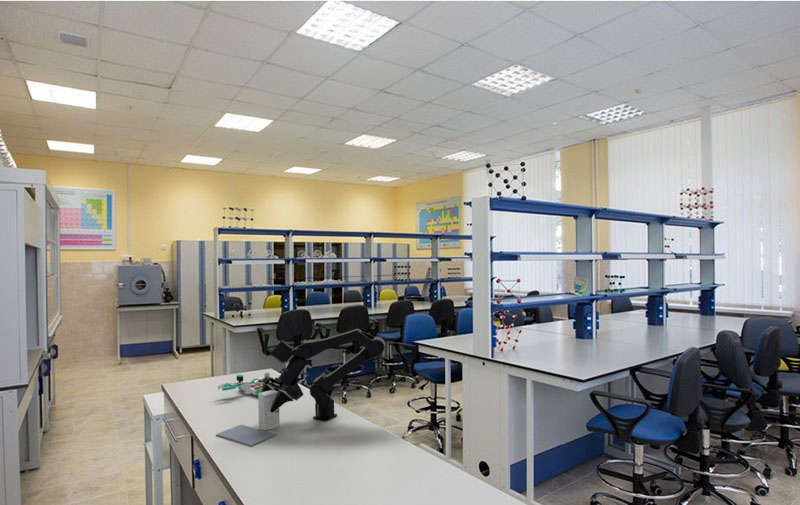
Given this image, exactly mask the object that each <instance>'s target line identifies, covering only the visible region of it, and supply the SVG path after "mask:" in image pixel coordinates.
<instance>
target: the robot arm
mask: <svg viewBox="0 0 800 505" xmlns="http://www.w3.org/2000/svg"><path fill="white" fill-rule="evenodd" d="M354 342H356V343H358V344H359V345H361V346H362V347H363V348H362V349H361V350H360V351H359V352H358V353H356V354H355V355H354V356H352V357H350V359H348V360H347V361H345V362H344V363H343V364H342V365H340V366H339V367H338V368H336V369H334V371H332V372H331V373H328V374H326V372H323V373H322V374H321V375H320V376H318V377H315V379H314V380H313V382H312V384H311V386H310V388H309V395H310V396H311V397H312V399H314V401H315V405H314V406H315V409H314V410H315V411H314V412H315V415H314V416H313V417H312V419H314V420H318V421H319V420H320V421H325V422H327V421H329V420H331V419H333V418H335V417H338V414H337V413H335V399H333V396H334V394H335V391H334V390H333V386H335V385H336V384H337V383H338V382H340V380H342V379H343V378H345V377H346V376H348V375H349V374H351V373H352V372H353V371H354V370H356V369H357V368H358V367H360V366H361V365H363V364H364V363H365V362H367V361H369V360H372V359H374V358H375V359H376V357H378V356H380V355H382V354H383V353H384V351H385V346H386V342H385V340H384V338H382V337H380V336H374V335H372V334H370V333H367V332H365V331H363V330H361V329H360V328H355V329H353V330H350V331H345V332H343V333H339V334H335V335H333V336H329V337H326V338H317V339H316V338H315V339H308V340H306V341H304V342H303V343H301V345H297V346H295V347H293V346H291V345H289V344H288V342H286V341H285V340H283V339H281V340H280V342H279V343H278V344H277V345H276V347H274V348H273V349H272V351H271V353H270V356H271V357H272V358H274V360H277V361H278V362H280V363H281V364H282V365H283V364H287V365H286V367H282V368H281V371H282V372H281V373H280V375H279V376H278V377H275V378H273V377H271V376H270V377H269V376H268V377H265V376H264V377H263V378H264V379H263V380H262V382H263V384H262V385H263V387H262V392H265V391H271V390H275V391H278V393H277V395H276V398H275V400H274V402H273V404H272V407H271V409H270V412H272V413H273V412H274V411H275V410H277V409H278V408H279V409H280V407H282V406H283V405H284V404H285V403H289V402H294V401H298V400H299V399H300V398H302V397H303V396H304V393H303V390H302V388H301V386H300V385H299V382H300V378H299V377H300V376H301V374H302V373H303V371H304V370H305V368H306V367H308V368H309V369H312V367H313V363H312V361H313V360H312V359H311V358H313V357H314V356H317V355H319V354H320V353H322V352H325V351H326V350H329V349H333V348H337V347H341V346H342V345H343V346H344V345H347V344H350V343H354ZM262 392H261V393H262Z"/></svg>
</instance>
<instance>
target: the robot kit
mask: <svg viewBox="0 0 800 505" xmlns="http://www.w3.org/2000/svg"><path fill="white" fill-rule="evenodd" d="M268 376H269V377H271V375H270V372H268V371H266V372H265V373H264V377H260V378H258V377H257V378H255V377H254V378H253V379H252V380H251V382H249V381H248V380H244V375H243V374H236V381H237V382H233V383H228V382H227V383H222V384H220V385H218V386H217V390H220V389H221V391H229V390H235V389H236V388H238V390H239V391H241V392H247V393H250V394H252V395H253V396H254V395H255V396H257V397H258V393H261V392H262V387H263V385H262V384H263V382H262V380H263V379H264V378H265V377H268Z"/></svg>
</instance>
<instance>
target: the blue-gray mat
mask: <svg viewBox="0 0 800 505" xmlns="http://www.w3.org/2000/svg"><path fill="white" fill-rule="evenodd" d="M215 436H216V437H219V438H221V439H225V440H228V441H231V442H236V443H238V444H241V445H245V446H248V447H255V446H257V445H258V444H259V445H260V443H263V442H266V441H267V440H269V439H272V438H274V437H276V436H277V433H274V432H271V431H268V430H265V431H264V430H262V429H260V428H256V427H252V426H248V425H245V424H239V425H236V426H233V427H231V428H229V429H226V430H223V431H220V432H219V433H216V434H215Z"/></svg>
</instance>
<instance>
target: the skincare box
mask: <svg viewBox="0 0 800 505" xmlns="http://www.w3.org/2000/svg"><path fill="white" fill-rule="evenodd" d="M277 393H278V391H275V390H271V391H265V392H262V393H258V396H257V399H258V401H257V402H258V405H257V406H258V429H260V430H264V431H268V430H272V429H275V428H278V427H280V422H281V421H280V420H281V419H280V407H279V408H278V409H277V410H275V411H274V412H273V413H272V412H270V409H271V407H272V404H273V402H274V400H275V398H276V395H277Z"/></svg>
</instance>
